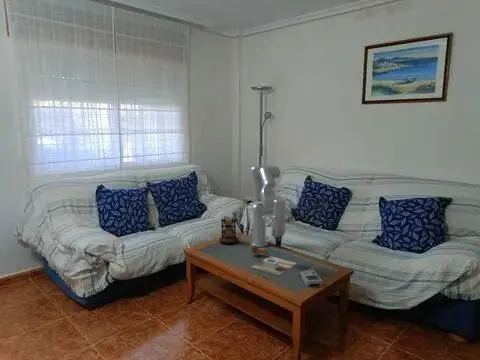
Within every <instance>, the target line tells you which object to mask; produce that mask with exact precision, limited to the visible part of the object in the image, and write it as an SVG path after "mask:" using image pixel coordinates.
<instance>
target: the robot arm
mask: <svg viewBox="0 0 480 360" xmlns="http://www.w3.org/2000/svg"><path fill="white" fill-rule="evenodd" d="M249 171H250V178H251V180H252V186H253V187H252V189H253V190H252V191H253V200H254V201H255V202H257V203H254V204H253V205H252V207H251V211H252V220H253V221H252V222H253V223H252V226H253V229H252V231H253V232H252V235H253V236H252V241H251V242H250V245H255V246H257V247H258V248H261V247H262V248H264V247H266V246H268V245H269V242H268V241H267V240H268V239H270V238H269V236H266V235H267V220H266V219H265V218H264V217H265V216H272V225H271V233H270V234H271V237H273V240H275V246H276V247H281V246H282V239H283V236H284V235H285V233H286V200H285V199H284V198H283V197H282V196H281V195H276V194H275V191H274V188H275V187H276V185H277V183H276V180H275V179H279V178H280V176H281V169H280V168H279V167H278V166H277V165H270V164H269V165H254V166H252V167H251V168H250V170H249ZM258 202H259V203H258Z"/></svg>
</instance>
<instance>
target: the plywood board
mask: <svg viewBox="0 0 480 360" xmlns="http://www.w3.org/2000/svg"><path fill="white" fill-rule="evenodd" d="M266 259H272V260H276V261H279V267H278V268H277V269H276V270H273V269H269V268H265V267H264V260H266ZM296 264H297V262H295V261H291V260H288V259H282V258H279V257H275V256H272V255H269V256H268V257H266V258H265V259H263V260H261V261H259V262H257V263H256V264H254V265H252V266H251V268H253V270H254V271H258V272H261V273H265V274H268V275H270V276H274V277H278V278H280V276H279V275H281V274H282V273H283V274H284V272H286V271H288V270H289V269H290V268H292V267H293V266H295V265H296ZM255 268H256V269H255ZM258 269H259V270H258ZM271 273H272V274H271Z"/></svg>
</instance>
